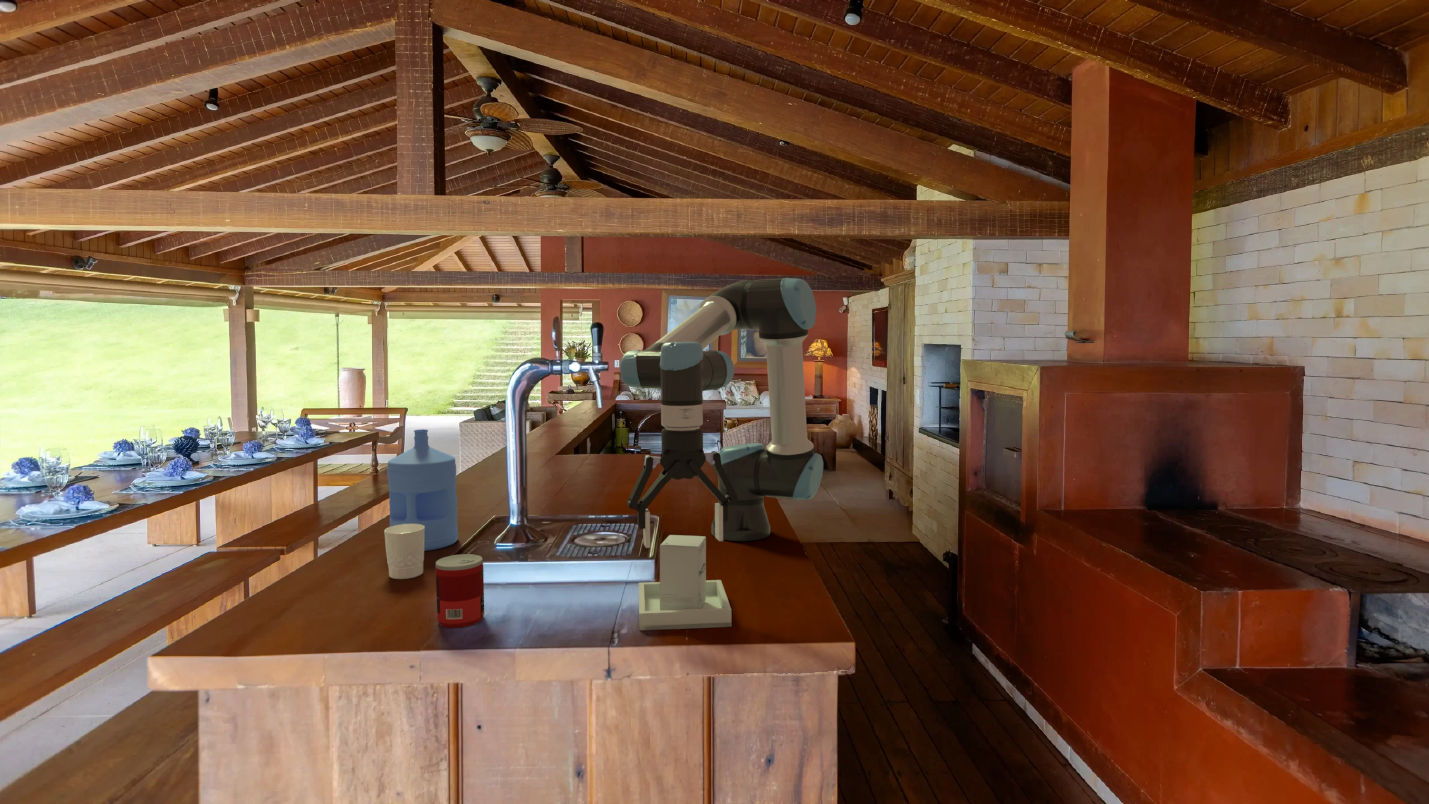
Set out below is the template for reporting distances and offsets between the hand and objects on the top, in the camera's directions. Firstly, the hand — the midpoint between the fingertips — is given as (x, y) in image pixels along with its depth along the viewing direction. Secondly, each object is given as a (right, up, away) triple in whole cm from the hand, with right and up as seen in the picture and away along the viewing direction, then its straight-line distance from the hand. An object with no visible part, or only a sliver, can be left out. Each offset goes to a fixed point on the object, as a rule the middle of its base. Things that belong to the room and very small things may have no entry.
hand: (683, 542), depth 134 cm
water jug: (-66, -9, +45) cm, 80 cm away
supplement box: (0, -12, +1) cm, 12 cm away
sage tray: (0, -13, +1) cm, 13 cm away
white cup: (-60, -11, +22) cm, 65 cm away
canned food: (-40, -13, -3) cm, 42 cm away
